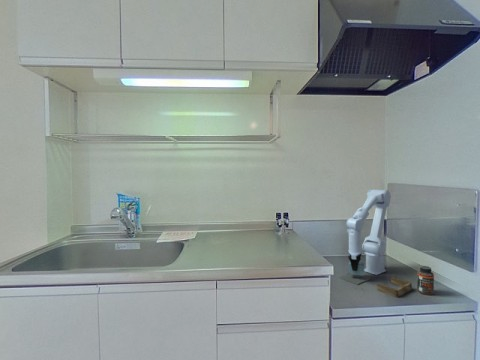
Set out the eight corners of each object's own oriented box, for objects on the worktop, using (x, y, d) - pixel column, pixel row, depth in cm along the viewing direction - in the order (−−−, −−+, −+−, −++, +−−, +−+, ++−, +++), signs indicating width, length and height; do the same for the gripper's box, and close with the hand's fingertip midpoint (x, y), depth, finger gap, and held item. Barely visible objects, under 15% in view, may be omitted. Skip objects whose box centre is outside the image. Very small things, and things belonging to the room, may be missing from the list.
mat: (353, 273, 142) (353, 271, 142) (371, 279, 133) (371, 278, 133) (339, 278, 136) (339, 277, 136) (357, 285, 127) (357, 283, 127)
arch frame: (391, 282, 128) (391, 276, 128) (411, 289, 121) (411, 283, 121) (377, 290, 122) (377, 283, 122) (397, 297, 114) (397, 290, 114)
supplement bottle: (421, 295, 116) (421, 269, 115) (414, 289, 121) (414, 264, 121) (436, 295, 115) (436, 269, 114) (429, 289, 121) (429, 264, 120)
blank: (349, 270, 138) (349, 260, 137) (364, 272, 134) (364, 263, 134) (348, 273, 134) (348, 263, 134) (363, 275, 131) (363, 265, 131)
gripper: (362, 247, 125) (363, 275, 126) (364, 239, 138) (364, 265, 139) (346, 245, 129) (347, 273, 129) (349, 238, 142) (349, 263, 142)
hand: (355, 269), depth 134 cm, fingers closed on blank, 4 cm apart
